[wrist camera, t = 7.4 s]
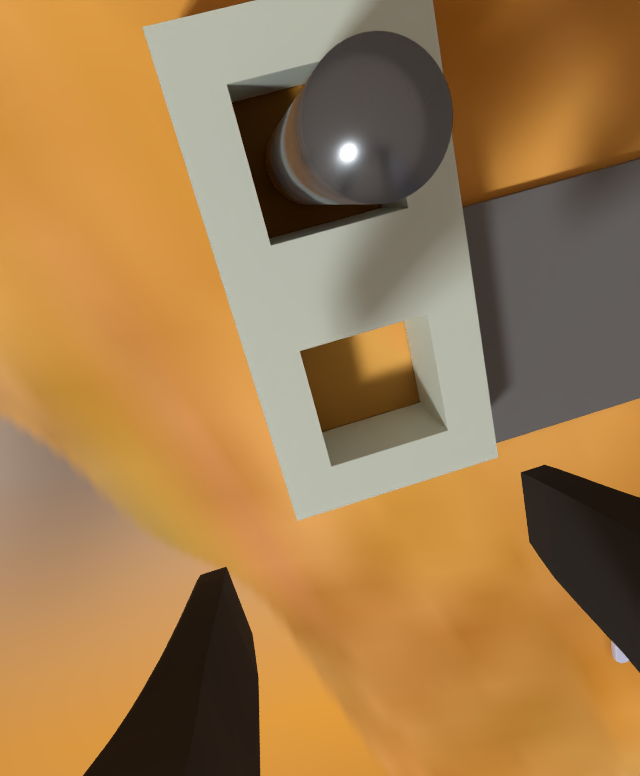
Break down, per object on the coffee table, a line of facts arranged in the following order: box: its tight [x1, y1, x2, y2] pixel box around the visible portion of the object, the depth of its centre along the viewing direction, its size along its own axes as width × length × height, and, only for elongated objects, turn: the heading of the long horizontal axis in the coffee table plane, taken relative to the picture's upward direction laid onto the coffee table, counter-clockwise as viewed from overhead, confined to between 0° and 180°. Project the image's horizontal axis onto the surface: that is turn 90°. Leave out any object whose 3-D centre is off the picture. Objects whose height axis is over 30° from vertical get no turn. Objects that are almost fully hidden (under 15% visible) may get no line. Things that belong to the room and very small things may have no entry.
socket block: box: [142, 0, 498, 521], centre depth 19 cm, size 16×8×3 cm, turn 14°
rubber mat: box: [462, 158, 640, 443], centre depth 22 cm, size 10×10×1 cm
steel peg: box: [266, 31, 453, 205], centre depth 14 cm, size 3×3×9 cm
